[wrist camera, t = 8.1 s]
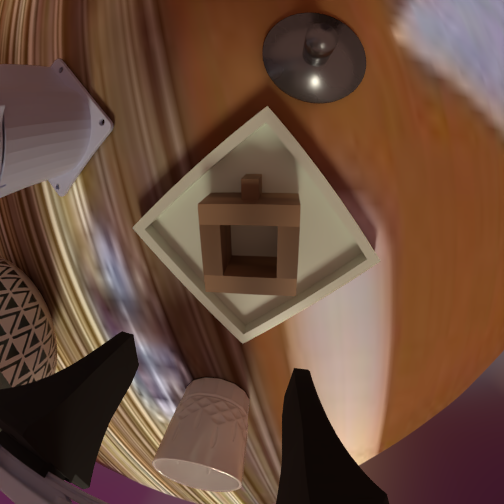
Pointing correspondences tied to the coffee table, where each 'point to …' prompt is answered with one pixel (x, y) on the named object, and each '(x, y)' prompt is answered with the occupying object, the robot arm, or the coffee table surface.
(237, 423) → the white cup
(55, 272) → the coffee table surface
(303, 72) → the grey knobbed lid
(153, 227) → the tray
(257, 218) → the brown square frame
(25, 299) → the planter
